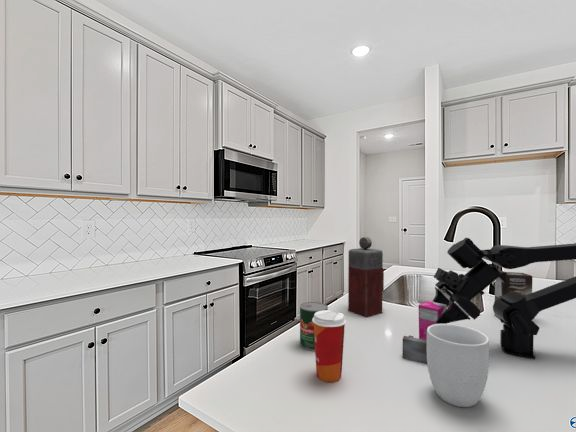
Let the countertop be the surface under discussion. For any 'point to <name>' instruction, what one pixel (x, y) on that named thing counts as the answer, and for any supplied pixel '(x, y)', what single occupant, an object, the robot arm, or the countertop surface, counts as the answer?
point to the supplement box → (429, 316)
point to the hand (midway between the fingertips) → (432, 317)
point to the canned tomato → (309, 323)
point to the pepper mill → (365, 279)
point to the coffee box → (513, 285)
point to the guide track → (414, 349)
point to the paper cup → (329, 344)
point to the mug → (457, 363)
